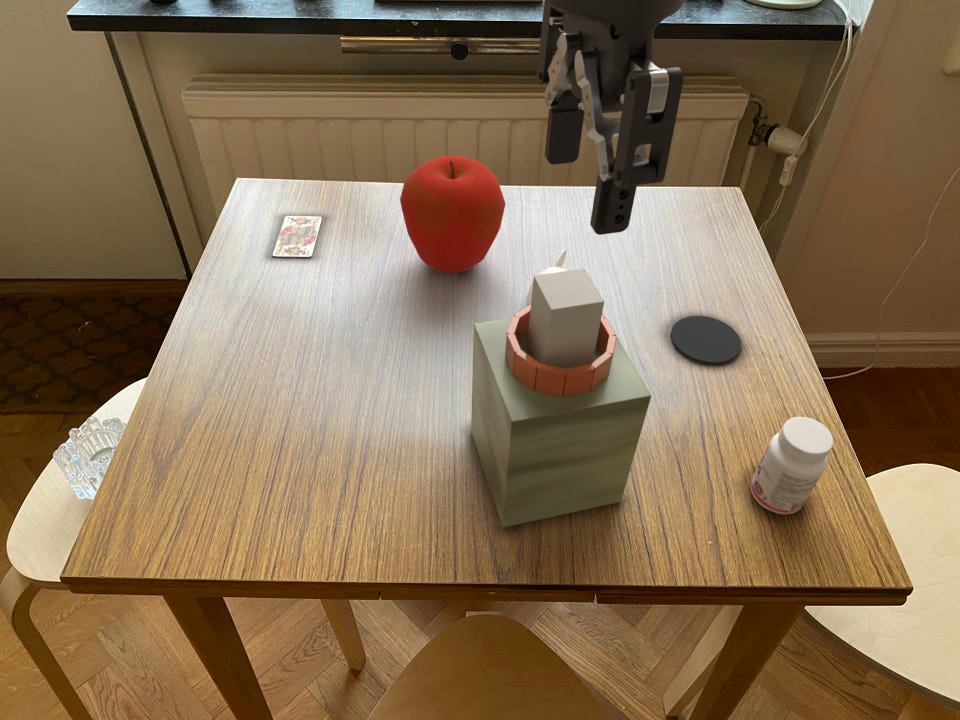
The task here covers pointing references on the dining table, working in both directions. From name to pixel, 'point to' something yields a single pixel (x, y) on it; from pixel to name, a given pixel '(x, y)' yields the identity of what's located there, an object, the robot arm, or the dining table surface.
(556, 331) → the block
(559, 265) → the figurine
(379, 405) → the dining table surface
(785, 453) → the pill bottle
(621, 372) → the stand
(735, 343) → the coaster
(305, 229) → the playing card
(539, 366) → the segmented terracotta ring
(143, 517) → the dining table surface
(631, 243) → the dining table surface
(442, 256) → the apple
